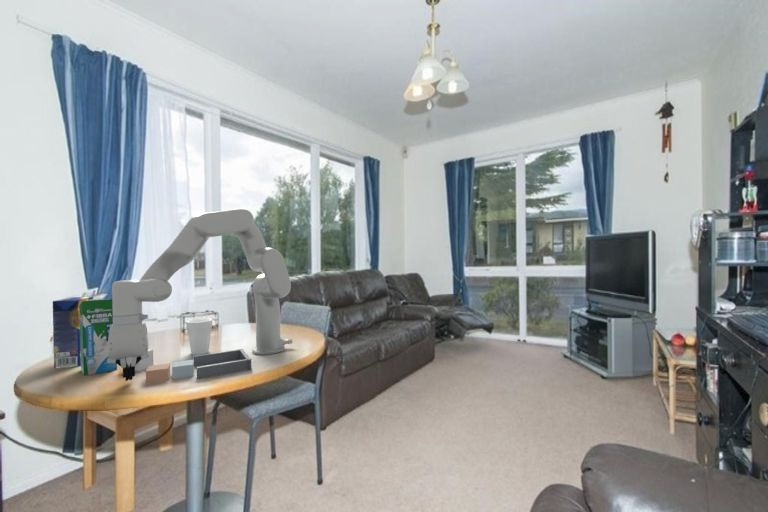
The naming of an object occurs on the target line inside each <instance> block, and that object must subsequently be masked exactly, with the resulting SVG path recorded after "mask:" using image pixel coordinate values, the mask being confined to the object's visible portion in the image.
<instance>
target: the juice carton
mask: <svg viewBox="0 0 768 512" xmlns="http://www.w3.org/2000/svg"><path fill="white" fill-rule="evenodd" d="M91 299H94V296H76V297H75V296H73V297H72V296H71V297H67V298H62V299H56V300H53V301H52V326H53V328H52V329H53V331H52V332H53V337H52V338H53V367H54V368H55V369H57V368H56V367H66V368H71V367H70V366H77V367H81V350H80V309H79V306H80V304H81V302H82V301H90V300H91ZM54 368H53V369H54Z"/></svg>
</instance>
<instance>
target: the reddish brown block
mask: <svg viewBox="0 0 768 512" xmlns="http://www.w3.org/2000/svg"><path fill="white" fill-rule="evenodd" d="M170 376H171V363H170V362H169V363H168V362H167V363H161V364H153V365H152V366H148V368H147V369H145V384H152V383H159V382H165V381H167V382H168V381H169V380H170Z"/></svg>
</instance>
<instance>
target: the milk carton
mask: <svg viewBox="0 0 768 512" xmlns="http://www.w3.org/2000/svg"><path fill="white" fill-rule="evenodd" d="M79 309H80V350H81V366H80V370H81V372H82V375H83V376H84V377H85V376H91V375H95V374H101V373H105V372H106V373H107V372H110V371H111V372H112V371H116V370H118V364H116V363H107V359H108V336H109V329H110V326H111V325H113V312H112V298H101V297H100V298H99V297H98V298H93V299H91V300H90V301H82V302H81V304H80V306H79Z"/></svg>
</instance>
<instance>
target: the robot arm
mask: <svg viewBox="0 0 768 512" xmlns="http://www.w3.org/2000/svg"><path fill="white" fill-rule="evenodd" d="M254 222H255V219H254V215H253V213H252V212H251V211H250V210H248V209H246V208H242V207H239V208H238V207H237V208H232V209H226V210H220V211H209V212H203V213H198V214H195V215H194V216H191V218H190V219H189V220H188V222H187V223H186V224H185V225H184V227H183V228H182V229H181V230H180V232H179V233H178V235H177V236H176V237H175V239H174V240H173V241H172V243H171V244H170V245H169V246H168V247H167V248H166V249H165V250H164V251H163V252H162V254H161V255H160V256H158V258H156V259H155V261H154V262H153V263H152V264H151V265H150V266H149V267H148V269H147V270H146V271H145V273H144V274H143V275H142V276H141V278H140V279H139V280H137V279H125V280H124V279H123V280H117V281H114V282H113V283H112V285H111V295H112V296H111V299H112V312H113V325H111V326H110V329H109V336H108V359H107V363H116V364H117V366H119V367H121V369H122V378H125V382H128V381H132V380H133V377H136V371H135V365H136V364H137V363H138V362H139V361H140V360H142V359H145V358H148V357H149V352H148V349H149V336H148V329H147V328H148V327H147V324H146V322H145V321H144V320H148V319H149V315H148V314H144V313H143V303H144V302H147V303H149V302H151V303H152V302H153V303H157V302H163V301H166V300H167V299H169V297H170V296H171V295H172V292H173V287H172V284H171V283H170V282H169V280H170V279H171V278H172V277H173V276H174V275H175V273H177V272H178V271H180V269H182V268H185V267H186V266H187V265H189V264H190V263H191V262H193V261H194V260H195V259H196V257H197V255H198V254H199V253H200V252H201V250H202V248H203V247H204V246H205V244H206V243H207V241H208V240H209V239H210V238H214V237H221V236H227V235H231V234H232V235H234V236H235V237H236V238H237V239H238V240H239V242H240V244H241V246H242V249H243V251H244V252H243V253H244V255H245V257H246V260H247V261H246V262H247V264H248V266H249V268H250V270H252V271H253V272H258V273H259V272H260V274H259V275H257V276H256V277H255V279H254V280H253V283H252V291H253V295H254V306H255V342H256V343H255V347H253V348H252V349H251V352H252V354H253V355H254V354H255V355H261V356H262V355H273V354H278V353H281V352H283V351H284V350H286V348H285V347H286V345H292V344H293V339H292V338H289V339H288V338H282V337H281V306H280V305H281V304H280V299H282V298H285V297H287V296H288V295H289V294H290V292H291V290H292V289H291V288H292V283H291V277H290V274H289V272H288V268H287V264H286V262H285V259H284V257H283V255H282V253H281V252H280V251H279V250H278V249H276V248H273V247H267V245H266V241H265V240H264V237H263V234H262V232H261V230H260V228H259V227H258V226H257V224H255V223H254ZM137 356H138V357H137ZM128 357H132V361H131V363H130V366H128V364H127V361H126V358H128Z"/></svg>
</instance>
